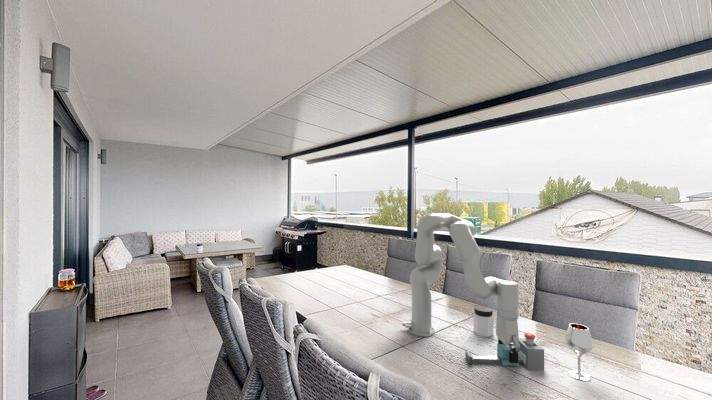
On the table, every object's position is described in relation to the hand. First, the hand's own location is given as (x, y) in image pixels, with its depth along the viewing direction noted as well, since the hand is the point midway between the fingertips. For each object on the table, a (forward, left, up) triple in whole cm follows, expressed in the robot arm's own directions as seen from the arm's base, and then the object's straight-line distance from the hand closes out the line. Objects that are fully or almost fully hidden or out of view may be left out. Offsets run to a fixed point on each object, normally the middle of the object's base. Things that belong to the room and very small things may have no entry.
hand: (507, 356), depth 116 cm
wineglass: (+22, -7, -3) cm, 24 cm away
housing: (+8, 0, -3) cm, 9 cm away
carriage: (0, 0, -3) cm, 3 cm away
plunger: (+9, 0, +4) cm, 9 cm away
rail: (-5, 0, -3) cm, 5 cm away
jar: (0, +27, -3) cm, 27 cm away
